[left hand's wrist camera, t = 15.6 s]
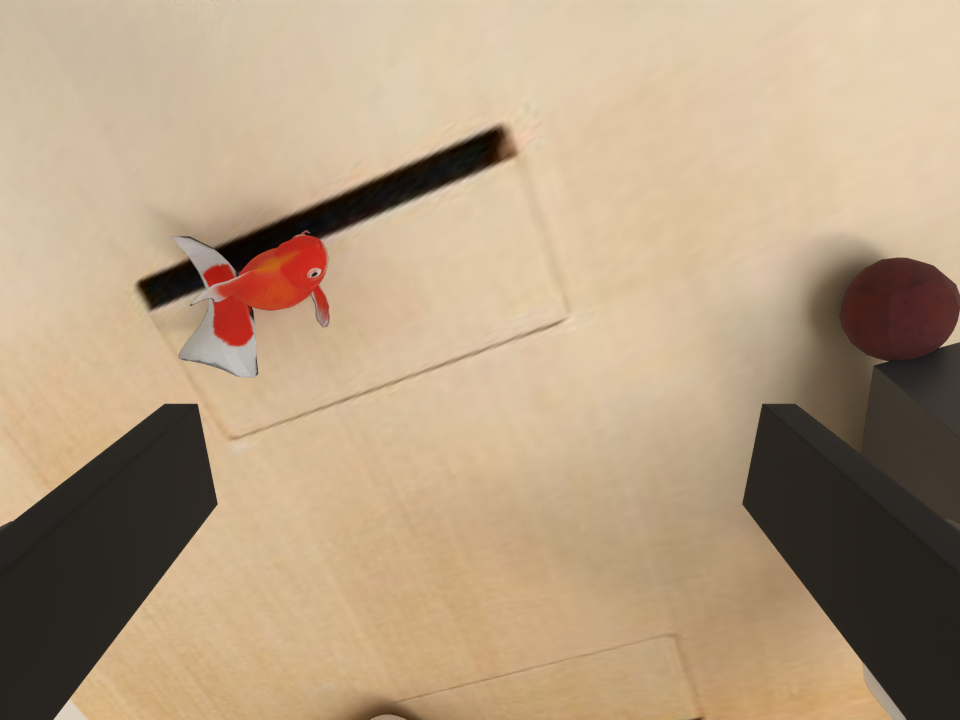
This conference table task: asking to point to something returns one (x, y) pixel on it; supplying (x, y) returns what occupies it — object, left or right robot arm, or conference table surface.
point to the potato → (900, 309)
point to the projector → (387, 717)
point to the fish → (250, 298)
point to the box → (918, 427)
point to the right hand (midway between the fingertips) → (944, 585)
